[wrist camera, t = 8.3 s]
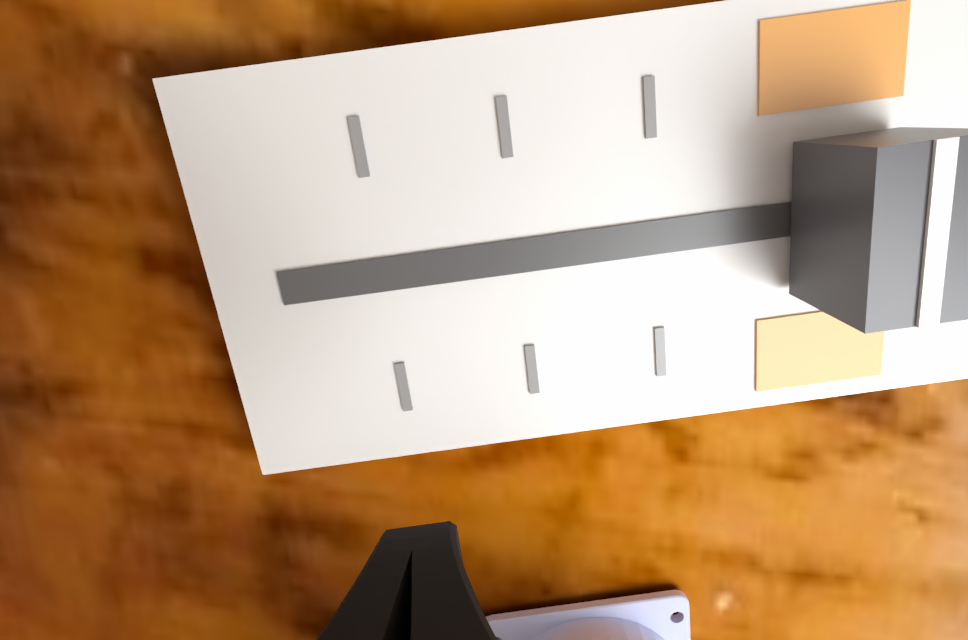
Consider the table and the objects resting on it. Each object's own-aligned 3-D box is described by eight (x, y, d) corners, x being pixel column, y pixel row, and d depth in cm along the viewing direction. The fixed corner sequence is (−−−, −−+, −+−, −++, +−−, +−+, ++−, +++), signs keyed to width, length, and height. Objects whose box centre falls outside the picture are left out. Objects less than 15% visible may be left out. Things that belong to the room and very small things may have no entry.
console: (1021, 348, 21) (1065, 366, 20) (275, 451, 21) (261, 476, 20) (1082, -42, 18) (1141, -57, 16) (176, 81, 18) (150, 78, 16)
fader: (888, 280, 18) (990, 318, 15) (788, 293, 18) (867, 335, 15) (900, 127, 17) (1015, 129, 14) (792, 141, 17) (880, 148, 14)
